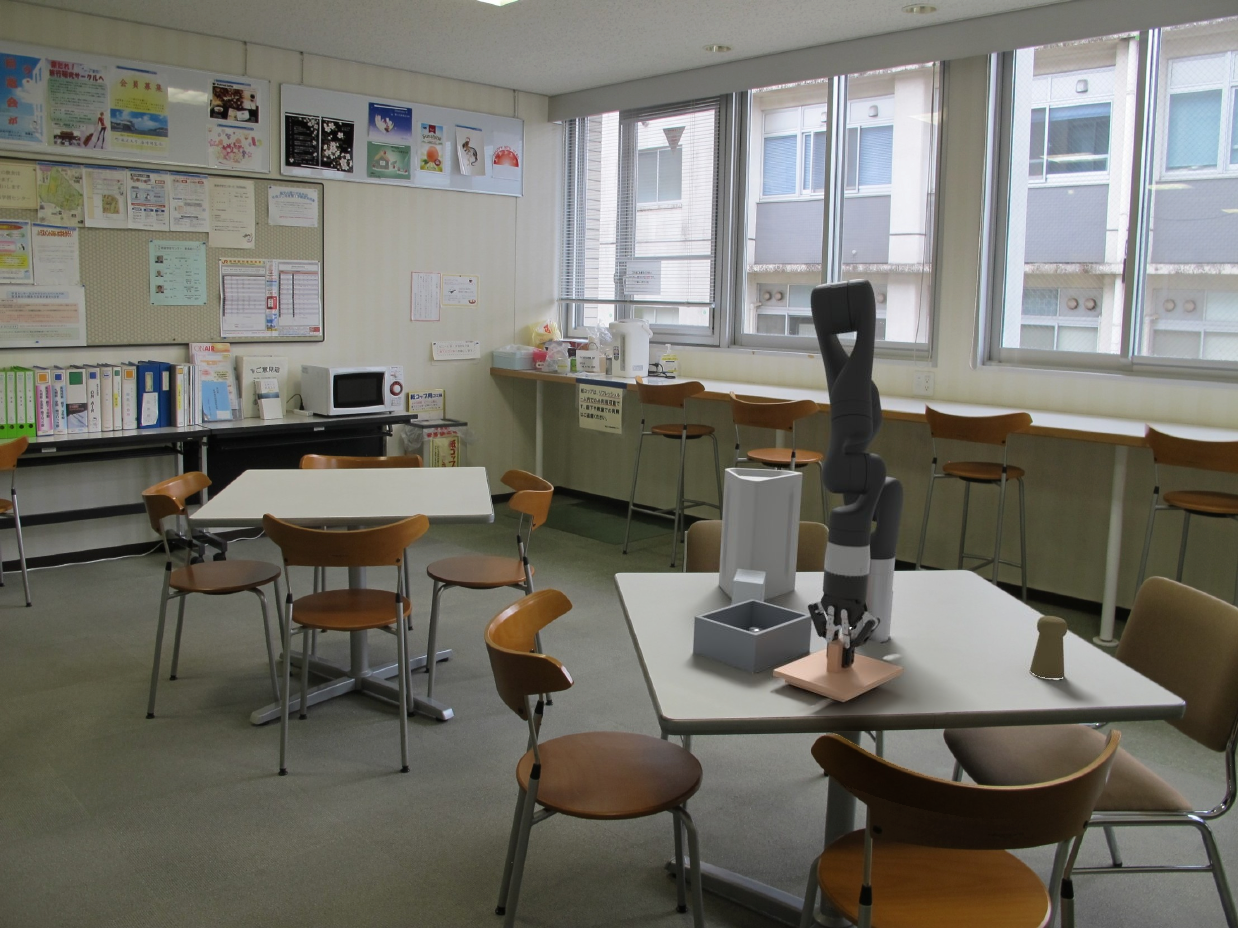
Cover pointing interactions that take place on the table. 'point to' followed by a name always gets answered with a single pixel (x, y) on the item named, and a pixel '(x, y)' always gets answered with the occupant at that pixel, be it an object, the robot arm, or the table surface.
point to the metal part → (755, 629)
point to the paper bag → (760, 527)
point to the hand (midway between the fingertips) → (839, 664)
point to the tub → (752, 635)
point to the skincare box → (748, 586)
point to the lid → (837, 673)
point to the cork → (1049, 648)
